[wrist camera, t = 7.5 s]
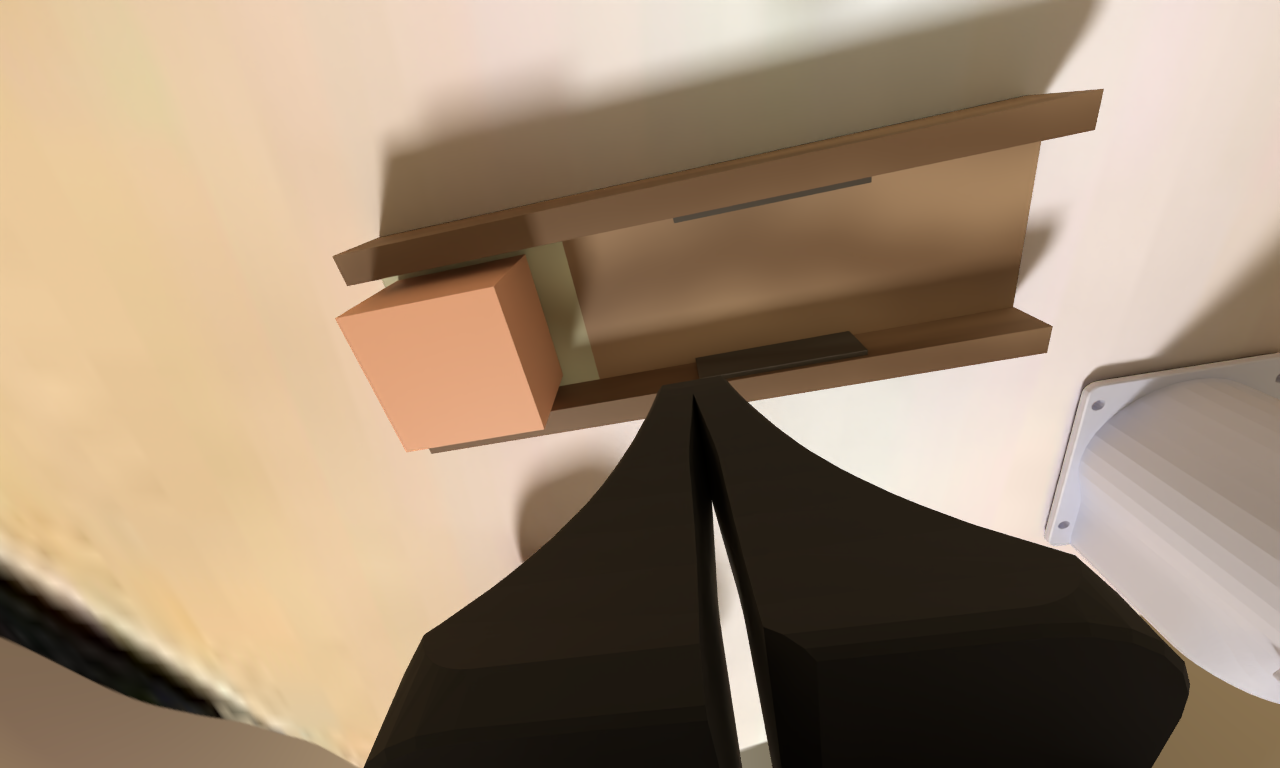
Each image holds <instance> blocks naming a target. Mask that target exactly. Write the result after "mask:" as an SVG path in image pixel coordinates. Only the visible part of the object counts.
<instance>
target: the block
mask: <svg viewBox="0 0 1280 768" xmlns="http://www.w3.org/2000/svg"><path fill="white" fill-rule="evenodd" d="M335 319H336V321H337V323H338V325H339V327H340V329H341V330H342V332H343V334H344V336H345V338H346V340H347V342H348V344H349V345H350V347H351V349H352V351H353V353H354V355H355V357H356V359H357V360H358V362H359V364H360V366H361V368H362V370H363V372H364V374H365V376H366V377H367V379H368V381H369V383H370V385H371V387H372V389H373V391H374V392H375V394H376V396H377V398H378V400H379V402H380V404H381V406H382V407H383V409H384V411H385V413H386V415H387V417H388V419H389V421H390V422H391V424H392V426H393V428H394V430H395V432H396V434H397V436H398V438H399V439H400V441H401V443H402V445H403V447H404V449H405V451H406V452H411V451H417V450H423V449H429V448H435V447H441V446H447V445H453V444H459V443H465V442H471V441H477V440H483V439H489V438H495V437H501V436H507V435H513V434H519V433H525V432H531V431H537V430H544V429H545V426H546V423H547V420H548V417H549V415H550V412H551V409H552V406H553V403H554V400H555V397H556V394H557V391H558V388H559V386H560V383H561V380H562V377H563V373H562V370H561V367H560V363H559V360H558V357H557V354H556V351H555V347H554V344H553V341H552V338H551V335H550V332H549V328H548V325H547V322H546V319H545V316H544V312H543V309H542V306H541V303H540V300H539V296H538V293H537V290H536V287H535V284H534V280H533V277H532V274H531V271H530V268H529V265H528V261H527V258H526V255H525V254H523V255H518V256H514V257H509V258H504V259H499V260H494V261H490V262H485V263H480V264H475V265H470V266H465V267H461V268H456V269H451V270H446V271H441V272H437V273H432V274H427V275H422V276H417V277H413V278H408V279H403V280H398V281H396V282H394V283H393V284H391V285H389V286H388V287H386V288H384V289H383V290H381V291H379V292H378V293H376V294H375V295H373V296H371V297H370V298H368V299H366V300H365V301H363V302H361V303H360V304H358V305H356V306H355V307H353V308H352V309H350V310H348V311H347V312H345V313H343V314H342V315H340V316H338V317H337V318H335Z"/></svg>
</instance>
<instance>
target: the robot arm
mask: <svg viewBox="0 0 1280 768" xmlns="http://www.w3.org/2000/svg"><path fill="white" fill-rule="evenodd" d="M1094 402H1095V403H1094ZM1093 403H1094V404H1093ZM712 502H713V506H714V509H715V513H716V517H717V520H718V524H719V527H720V531H721V534H722V538H723V541H724V545H725V548H726V552H727V555H728V559H729V562H730V566H731V569H732V573H733V576H734V580H735V583H736V587H737V590H738V594H739V598H740V602H741V606H742V610H743V614H744V619H745V624H746V629H747V635H748V640H749V645H750V650H751V656H752V661H753V666H754V671H755V677H756V682H757V687H758V693H759V698H760V703H761V709H762V714H763V719H764V724H765V730H766V735H767V740H768V746H769V751H770V757H771V762H772V767H773V768H1152V766H1153V764H1154V762H1155V761H1156V759H1157V758H1158V756H1159V754H1160V752H1161V751H1162V749H1163V747H1164V746H1165V744H1166V742H1167V741H1168V739H1169V737H1170V735H1171V734H1172V732H1173V730H1174V729H1175V727H1176V725H1177V724H1178V722H1179V720H1180V719H1181V717H1182V713H1183V710H1184V707H1185V704H1186V701H1187V698H1188V695H1189V687H1190V683H1189V679H1188V674H1187V670H1186V666H1185V662H1184V661H1183V660H1182V659H1181V658H1180V657H1179V656H1178V655H1177V654H1176V653H1175V652H1174V651H1173V650H1172V649H1171V648H1170V647H1169V646H1168V645H1167V644H1166V643H1165V642H1164V641H1163V640H1162V639H1161V638H1160V637H1159V636H1158V635H1157V634H1156V633H1155V632H1154V631H1153V630H1152V628H1151V627H1150V626H1149V625H1148V624H1147V623H1146V622H1145V621H1144V620H1143V619H1142V618H1141V617H1140V616H1139V615H1138V614H1137V613H1136V612H1135V611H1134V610H1133V609H1132V608H1131V607H1130V606H1129V604H1128V603H1127V602H1126V601H1125V600H1124V599H1123V598H1122V597H1121V596H1120V595H1119V594H1118V593H1117V592H1116V591H1114V590H1113V589H1112V588H1111V587H1110V586H1109V585H1108V584H1107V583H1106V582H1104V581H1103V580H1102V579H1101V578H1100V577H1099V576H1098V575H1097V574H1096V573H1094V572H1093V571H1092V570H1091V569H1090V568H1089V567H1088V566H1087V565H1085V564H1084V563H1083V562H1082V561H1081V560H1080V559H1079V558H1077V557H1076V556H1075V555H1072V554H1069V553H1065V552H1062V551H1059V550H1056V549H1052V548H1049V547H1046V546H1042V545H1039V544H1036V543H1032V542H1029V541H1026V540H1022V539H1019V538H1016V537H1013V536H1009V535H1006V534H1003V533H999V532H996V531H993V530H989V529H986V528H983V527H979V526H976V525H973V524H971V523H968V522H965V521H962V520H959V519H957V518H954V517H951V516H948V515H946V514H943V513H940V512H938V511H935V510H932V509H930V508H927V507H924V506H921V505H919V504H917V503H914V502H912V501H909V500H907V499H904V498H902V497H900V496H897V495H895V494H892V493H890V492H888V491H886V490H884V489H882V488H879V487H877V486H875V485H873V484H871V483H869V482H867V481H864V480H862V479H860V478H858V477H856V476H854V475H852V474H850V473H848V472H846V471H844V470H842V469H840V468H839V467H837V466H835V465H833V464H831V463H830V462H828V461H826V460H825V459H823V458H821V457H820V456H818V455H816V454H814V453H813V452H811V451H809V450H808V449H806V448H805V447H803V446H802V445H800V444H799V443H798V442H796V441H795V440H793V439H792V438H791V437H789V436H788V435H787V434H785V433H784V432H782V431H781V430H780V429H779V428H777V427H776V426H775V425H774V424H772V423H771V422H770V421H769V420H768V419H766V418H765V417H764V416H763V415H762V414H761V413H759V412H758V411H757V410H756V409H755V408H754V407H753V406H751V405H750V404H749V403H748V402H747V401H746V400H745V399H744V398H743V397H742V396H741V395H740V394H739V393H738V392H737V391H736V390H735V389H734V388H733V387H732V385H731V384H730V383H729V382H728V381H727V380H726V379H725V378H724V377H722V376H721V375H720V376H714V377H708V378H702V379H696V380H691V381H685V382H679V383H673V384H667V385H662V386H661V388H660V389H659V390H658V392H657V395H656V397H655V400H654V402H653V404H652V406H651V409H650V411H649V413H648V415H647V417H646V419H645V420H644V422H643V424H642V426H641V428H640V429H639V431H638V433H637V435H636V437H635V438H634V440H633V442H632V443H631V445H630V447H629V448H628V450H627V451H626V453H625V454H624V456H623V457H622V459H621V460H620V462H619V463H618V465H617V466H616V468H615V469H614V470H613V472H612V473H611V474H610V476H609V477H608V478H607V480H606V481H605V482H604V484H603V485H602V486H601V487H600V489H599V490H598V491H597V492H596V493H595V495H594V496H593V497H592V498H591V499H590V501H589V502H588V503H587V504H586V505H585V506H584V507H583V508H582V509H581V510H580V511H579V512H578V513H577V514H576V515H575V516H574V517H573V518H572V519H571V520H570V521H569V522H568V523H567V524H566V525H565V526H564V527H563V528H562V529H561V530H560V531H559V532H558V533H557V534H556V535H555V536H554V537H553V538H552V539H551V540H550V541H549V542H547V543H546V544H545V545H544V546H543V547H542V548H541V549H539V550H538V551H537V552H536V553H535V554H534V555H532V556H531V557H530V558H529V559H528V560H527V561H525V562H524V563H523V564H522V565H520V566H519V567H518V568H517V569H515V570H514V571H513V572H512V573H510V574H509V575H508V576H507V577H505V578H504V579H503V580H501V581H500V582H499V583H498V584H496V585H495V586H494V587H492V588H491V589H490V590H488V591H487V592H485V593H484V594H483V595H481V596H480V597H478V598H477V599H475V600H474V601H473V602H471V603H470V604H468V605H467V606H465V607H464V608H463V609H461V610H460V611H458V612H457V613H455V614H454V615H453V616H451V617H450V618H448V619H447V620H446V621H444V622H443V623H441V624H440V625H438V626H437V627H435V628H434V629H432V630H431V631H429V632H428V633H426V634H425V635H424V636H423V638H422V640H421V642H420V644H419V646H418V648H417V650H416V652H415V654H414V656H413V658H412V660H411V662H410V664H409V666H408V668H407V670H406V672H405V674H404V676H403V678H402V681H401V683H400V685H399V687H398V690H397V692H396V694H395V697H394V699H393V701H392V704H391V706H390V708H389V710H388V713H387V715H386V717H385V720H384V722H383V724H382V727H381V729H380V731H379V733H378V736H377V738H376V740H375V743H374V745H373V747H372V750H371V752H370V754H369V757H368V759H367V761H366V763H365V766H364V768H742V763H741V757H740V750H739V744H738V737H737V731H736V724H735V718H734V711H733V705H732V698H731V691H730V685H729V678H728V672H727V665H726V658H725V652H724V645H723V638H722V632H721V625H720V618H719V608H718V598H717V581H716V563H715V546H714V528H713V512H712ZM1044 539H1045V540H1046V541H1047V542H1048V543H1049V544H1050V545H1053V546H1061V545H1069V544H1071V546H1072V547H1073V548H1074V549H1075V550H1076V551H1077V552H1078V553H1080V554H1081V555H1082V556H1083V557H1084V558H1085V559H1086V560H1087V561H1088V562H1089V563H1090V564H1091V565H1092V566H1093V567H1094V568H1095V569H1096V570H1097V571H1098V572H1099V573H1100V574H1101V575H1102V576H1103V577H1104V578H1105V579H1106V580H1107V581H1108V582H1109V583H1110V584H1111V585H1112V586H1113V587H1114V588H1115V589H1116V590H1117V591H1118V592H1119V593H1120V594H1121V595H1122V596H1123V597H1124V598H1125V599H1126V600H1127V601H1128V602H1129V603H1130V604H1131V605H1132V606H1133V607H1134V608H1135V609H1136V610H1137V611H1138V612H1139V613H1140V614H1141V615H1142V616H1143V617H1144V618H1145V619H1146V620H1147V621H1148V622H1149V623H1150V624H1152V626H1153V627H1155V628H1156V630H1158V631H1159V633H1161V634H1162V635H1163V636H1164V637H1165V638H1166V639H1167V640H1168V641H1169V642H1170V643H1171V644H1172V645H1173V646H1174V647H1175V648H1176V649H1178V650H1179V651H1180V652H1181V653H1182V654H1183V655H1185V656H1186V657H1187V658H1189V659H1190V660H1191V661H1193V662H1194V663H1195V664H1197V665H1198V666H1200V667H1202V668H1203V669H1205V670H1206V671H1208V672H1210V673H1211V674H1213V675H1214V676H1216V677H1218V678H1220V679H1222V680H1223V681H1225V682H1227V683H1229V684H1231V685H1233V686H1235V687H1237V688H1239V689H1241V690H1243V691H1245V692H1247V693H1250V694H1252V695H1255V696H1257V697H1260V698H1262V699H1265V700H1268V701H1271V702H1275V703H1278V704H1280V353H1273V354H1267V355H1261V356H1254V357H1248V358H1241V359H1235V360H1229V361H1222V362H1216V363H1209V364H1203V365H1197V366H1190V367H1184V368H1178V369H1171V370H1165V371H1158V372H1152V373H1146V374H1139V375H1133V376H1126V377H1120V378H1114V379H1107V380H1101V381H1096V382H1092V383H1090V384H1089V385H1087V386H1086V387H1085V388H1084V390H1083V392H1082V394H1081V398H1080V402H1079V405H1078V409H1077V413H1076V417H1075V421H1074V424H1073V428H1072V432H1071V436H1070V439H1069V443H1068V447H1067V451H1066V455H1065V458H1064V462H1063V466H1062V470H1061V474H1060V477H1059V481H1058V485H1057V489H1056V492H1055V496H1054V500H1053V504H1052V508H1051V511H1050V515H1049V519H1048V523H1047V526H1046V530H1045V534H1044Z"/></svg>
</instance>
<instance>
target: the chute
mask: <svg viewBox="0 0 1280 768" xmlns="http://www.w3.org/2000/svg"><path fill="white" fill-rule="evenodd" d="M1103 90H1104V89H1097V90H1086V91H1074V92H1062V93H1050V94H1039V95H1027V96H1022V97H1018V98H1013V99H1008V100H1004V101H999V102H995V103H990V104H986V105H981V106H977V107H972V108H967V109H963V110H958V111H954V112H949V113H945V114H940V115H935V116H931V117H926V118H922V119H917V120H913V121H908V122H904V123H899V124H894V125H890V126H885V127H881V128H876V129H872V130H867V131H863V132H858V133H853V134H849V135H844V136H840V137H835V138H831V139H826V140H822V141H817V142H812V143H808V144H803V145H799V146H794V147H790V148H785V149H780V150H776V151H771V152H767V153H762V154H758V155H753V156H749V157H744V158H739V159H735V160H730V161H726V162H721V163H717V164H712V165H708V166H703V167H698V168H694V169H689V170H685V171H680V172H676V173H671V174H666V175H662V176H657V177H653V178H648V179H644V180H639V181H635V182H630V183H625V184H621V185H616V186H612V187H607V188H603V189H598V190H594V191H589V192H584V193H580V194H575V195H571V196H566V197H562V198H557V199H552V200H548V201H543V202H539V203H534V204H530V205H525V206H521V207H516V208H511V209H507V210H502V211H498V212H493V213H489V214H484V215H480V216H475V217H470V218H466V219H461V220H457V221H452V222H448V223H443V224H438V225H434V226H429V227H425V228H420V229H416V230H411V231H407V232H402V233H397V234H393V235H388V236H384V237H379V238H376V239H374V240H372V241H369V242H367V243H364V244H362V245H359V246H357V247H354V248H352V249H349V250H347V251H345V252H342V253H340V254H337V255H335V256H332V257H333V259H334V261H335V262H336V264H337V266H338V268H339V270H340V272H341V274H342V276H343V278H344V280H345V282H346V284H347V286H350V285H355V284H360V283H365V282H369V281H374V280H379V279H382V281H383V283H384V286H385V288H386V287H388V286H389V285H391V284H393V283H394V282H396V281H398V280H403V279H408V278H413V277H417V276H422V275H427V274H432V273H437V272H441V271H446V270H451V269H456V268H461V267H465V266H470V265H475V264H480V263H485V262H490V261H494V260H499V259H504V258H509V257H514V256H518V255H523V254H525V255H526V258H527V261H528V265H529V268H530V271H531V274H532V277H533V280H534V284H535V287H536V290H537V293H538V296H539V300H540V303H541V306H542V309H543V312H544V316H545V319H546V322H547V325H548V328H549V332H550V335H551V338H552V341H553V344H554V347H555V351H556V354H557V357H558V360H559V363H560V367H561V370H562V373H563V377H562V380H561V383H560V386H559V388H558V391H557V394H556V397H555V400H554V403H553V406H552V409H551V412H550V415H549V417H548V420H547V423H546V426H545V429H544V430H537V431H531V432H525V433H519V434H513V435H507V436H501V437H495V438H489V439H483V440H477V441H471V442H465V443H459V444H453V445H447V446H441V447H435V448H429V450H430V452H431V454H433V453H439V452H445V451H451V450H457V449H463V448H470V447H476V446H482V445H488V444H494V443H500V442H506V441H512V440H518V439H524V438H530V437H537V436H543V435H549V434H555V433H561V432H567V431H573V430H579V429H585V428H591V427H597V426H604V425H610V424H616V423H622V422H628V421H634V420H640V419H646V417H647V415H648V413H649V411H650V409H651V406H652V404H653V402H654V400H655V397H656V395H657V392H658V390H659V389H660V388H661V386H662V385H667V384H673V383H679V382H685V381H691V380H696V379H702V378H708V377H714V376H720V375H721V376H722V377H724V378H725V379H726V380H727V381H728V382H729V383H730V384H731V385H732V387H733V388H734V389H735V390H736V391H737V392H738V393H739V394H740V395H741V396H742V397H743V398H744V399H745V400H746V401H747V402H750V401H756V400H762V399H768V398H774V397H780V396H786V395H792V394H798V393H805V392H811V391H817V390H823V389H829V388H835V387H841V386H847V385H853V384H859V383H866V382H872V381H878V380H884V379H890V378H896V377H902V376H908V375H914V374H920V373H926V372H933V371H939V370H945V369H951V368H957V367H963V366H969V365H975V364H981V363H987V362H993V361H1000V360H1006V359H1012V358H1018V357H1024V356H1030V355H1036V354H1042V353H1047V350H1048V345H1049V341H1050V336H1051V331H1052V327H1053V326H1051V325H1049V324H1047V323H1045V322H1043V321H1041V320H1039V319H1037V318H1035V317H1033V316H1031V315H1029V314H1027V313H1024V312H1022V311H1020V310H1018V309H1016V308H1014V307H1013V303H1014V298H1015V292H1016V286H1017V280H1018V274H1019V268H1020V262H1021V256H1022V251H1023V245H1024V239H1025V233H1026V227H1027V221H1028V215H1029V209H1030V204H1031V198H1032V192H1033V186H1034V180H1035V174H1036V168H1037V162H1038V157H1039V151H1040V145H1041V141H1044V140H1049V139H1053V138H1058V137H1063V136H1068V135H1073V134H1077V133H1082V132H1087V131H1092V130H1095V127H1096V122H1097V118H1098V113H1099V108H1100V104H1101V99H1102V94H1103Z"/></svg>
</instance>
